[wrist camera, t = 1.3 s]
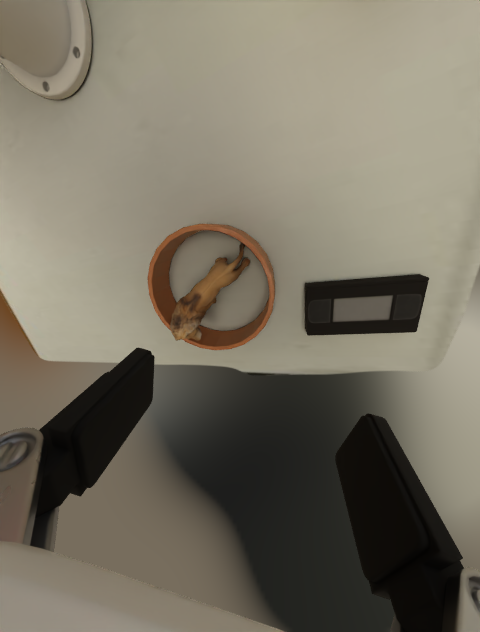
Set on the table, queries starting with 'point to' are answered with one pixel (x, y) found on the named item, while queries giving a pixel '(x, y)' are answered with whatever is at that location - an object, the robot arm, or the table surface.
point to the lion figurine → (204, 297)
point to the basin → (167, 303)
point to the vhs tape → (365, 305)
